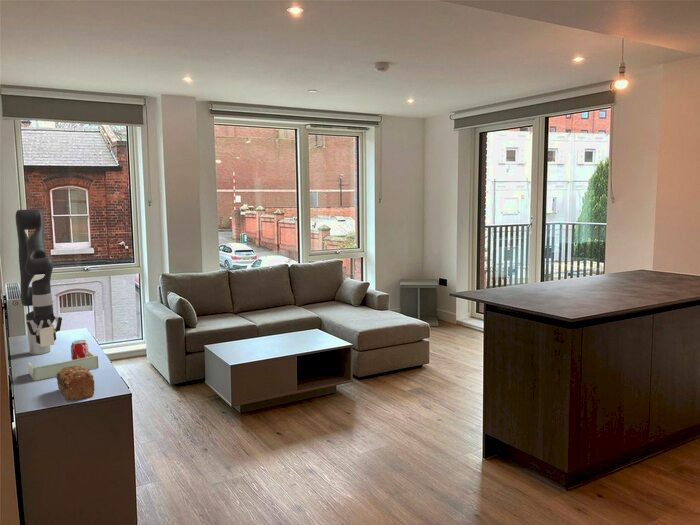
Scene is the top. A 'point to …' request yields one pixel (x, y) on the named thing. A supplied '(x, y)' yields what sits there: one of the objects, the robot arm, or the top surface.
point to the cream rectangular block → (46, 336)
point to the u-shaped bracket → (61, 367)
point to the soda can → (79, 349)
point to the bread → (75, 383)
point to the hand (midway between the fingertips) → (46, 342)
